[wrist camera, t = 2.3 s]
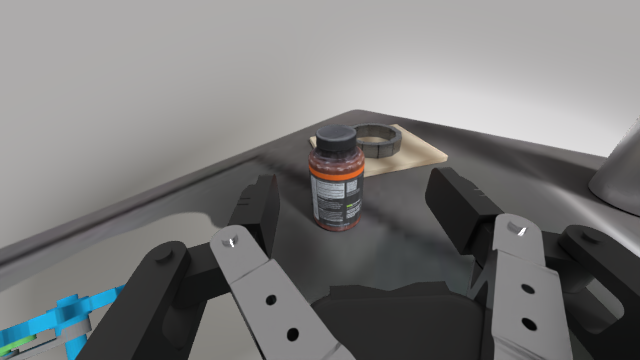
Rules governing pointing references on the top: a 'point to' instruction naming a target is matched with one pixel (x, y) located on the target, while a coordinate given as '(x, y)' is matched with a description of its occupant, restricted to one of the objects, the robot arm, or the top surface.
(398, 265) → the top surface
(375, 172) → the birch board
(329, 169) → the supplement bottle
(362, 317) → the robot arm
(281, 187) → the top surface
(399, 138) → the metal collar
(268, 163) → the top surface
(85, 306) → the gear
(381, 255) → the top surface
